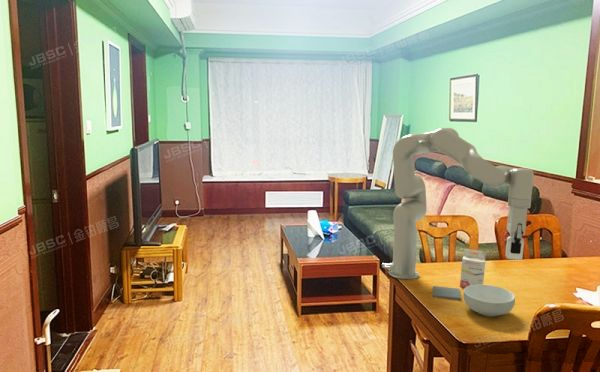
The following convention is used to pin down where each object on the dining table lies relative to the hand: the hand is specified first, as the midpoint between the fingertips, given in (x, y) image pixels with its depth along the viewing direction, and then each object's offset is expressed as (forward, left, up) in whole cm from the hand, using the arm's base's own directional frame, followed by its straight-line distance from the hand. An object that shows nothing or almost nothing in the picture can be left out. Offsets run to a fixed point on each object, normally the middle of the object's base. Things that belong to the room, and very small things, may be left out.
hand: (514, 251), depth 171 cm
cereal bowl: (-9, -14, -19) cm, 26 cm away
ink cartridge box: (-13, +10, -19) cm, 25 cm away
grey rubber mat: (-23, -1, -19) cm, 30 cm away
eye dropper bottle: (0, 0, -3) cm, 3 cm away
